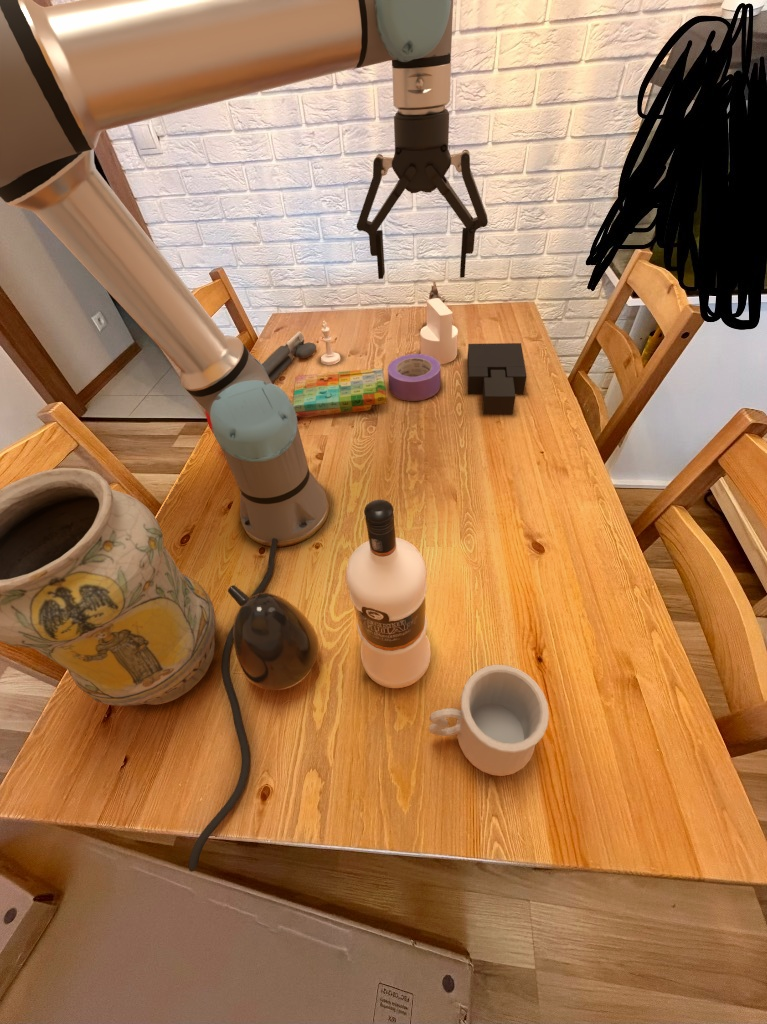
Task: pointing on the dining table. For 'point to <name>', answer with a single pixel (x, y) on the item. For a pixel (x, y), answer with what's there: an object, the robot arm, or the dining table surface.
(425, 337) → the cylinder with rectangular tab
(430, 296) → the figurine
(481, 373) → the notch pad
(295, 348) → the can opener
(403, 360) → the tape roll
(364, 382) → the puzzle game
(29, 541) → the vase
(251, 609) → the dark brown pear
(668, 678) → the dining table surface
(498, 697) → the mug
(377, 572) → the vodka
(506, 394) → the pad
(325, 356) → the chess piece
